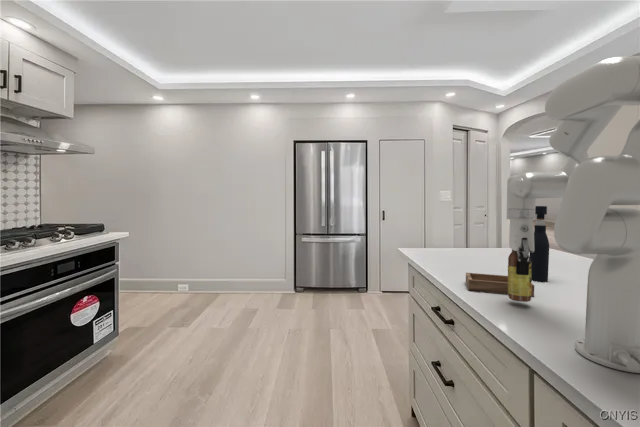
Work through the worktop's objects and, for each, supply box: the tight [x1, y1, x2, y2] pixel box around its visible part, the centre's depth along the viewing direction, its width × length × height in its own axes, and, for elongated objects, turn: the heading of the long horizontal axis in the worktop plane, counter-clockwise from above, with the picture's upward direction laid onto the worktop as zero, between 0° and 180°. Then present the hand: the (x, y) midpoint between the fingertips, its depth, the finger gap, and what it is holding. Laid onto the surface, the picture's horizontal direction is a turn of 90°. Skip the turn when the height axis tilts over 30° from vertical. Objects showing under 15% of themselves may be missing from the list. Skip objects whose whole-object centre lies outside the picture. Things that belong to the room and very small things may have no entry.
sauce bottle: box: [507, 249, 533, 303], centre depth 97 cm, size 7×6×20 cm
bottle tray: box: [465, 272, 535, 298], centre depth 114 cm, size 11×20×4 cm, turn 70°
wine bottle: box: [529, 205, 550, 283], centre depth 125 cm, size 6×6×30 cm
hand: (519, 271), depth 97 cm, fingers closed on sauce bottle, 6 cm apart
